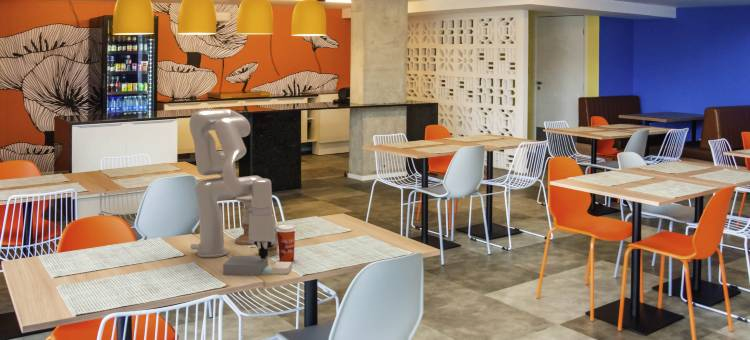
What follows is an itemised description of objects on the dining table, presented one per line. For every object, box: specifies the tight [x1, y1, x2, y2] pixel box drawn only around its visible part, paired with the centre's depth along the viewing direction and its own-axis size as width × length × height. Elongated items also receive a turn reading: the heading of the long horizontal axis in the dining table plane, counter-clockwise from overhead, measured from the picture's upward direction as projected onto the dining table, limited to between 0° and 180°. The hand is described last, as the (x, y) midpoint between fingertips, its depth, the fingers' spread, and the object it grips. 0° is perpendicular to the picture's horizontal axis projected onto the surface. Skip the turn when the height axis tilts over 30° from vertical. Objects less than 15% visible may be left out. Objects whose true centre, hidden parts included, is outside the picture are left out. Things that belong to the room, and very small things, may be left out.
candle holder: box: [234, 196, 253, 246], centre depth 339 cm, size 12×12×20 cm
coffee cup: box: [257, 223, 279, 257], centre depth 319 cm, size 9×9×12 cm
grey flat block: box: [222, 254, 269, 276], centre depth 295 cm, size 14×13×4 cm
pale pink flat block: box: [272, 261, 293, 275], centre depth 294 cm, size 6×9×2 cm, turn 175°
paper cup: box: [276, 224, 297, 263], centre depth 308 cm, size 8×8×14 cm
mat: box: [261, 265, 285, 275], centre depth 295 cm, size 9×10×1 cm
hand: (263, 258), depth 294 cm, fingers closed
